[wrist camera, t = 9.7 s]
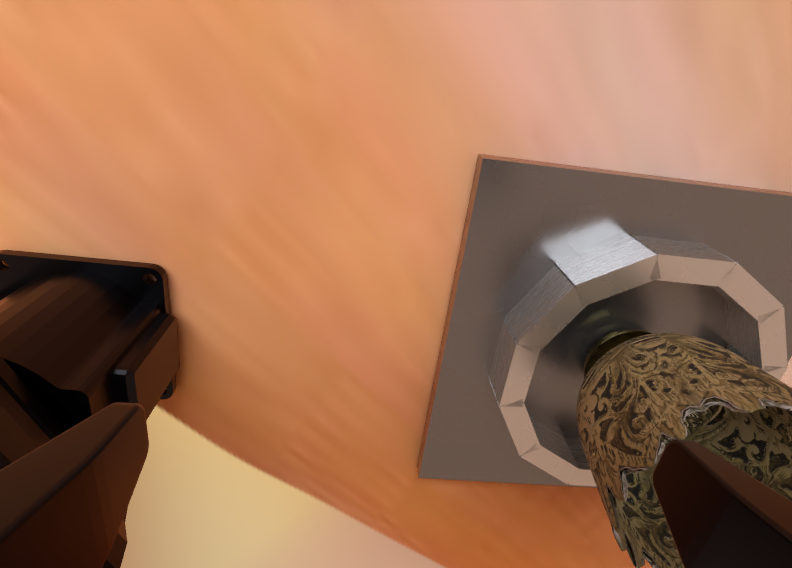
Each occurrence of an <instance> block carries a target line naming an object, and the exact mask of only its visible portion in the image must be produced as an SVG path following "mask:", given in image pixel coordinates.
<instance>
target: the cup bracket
mask: <svg viewBox="0 0 792 568" xmlns="http://www.w3.org/2000/svg"><path fill="white" fill-rule="evenodd" d="M624 328H635V329H641V330H644V331H648V332H651V333H653V334H654V333H680V334H685V335H690V336H695V337H698V338H701V339H704V340H707V341H709V342H712V343H714V344H717V345H719V346H721V347H723V348H725V349H727V350H729V351H731V352H733V353H735V354H737V355H738V356H740V357H742V358H744V359H745V360H747V361H749V362H750V363H752V364H754V365H755V366H757V367H759V368H760V369H762V370H763V371H765V372H767V373H768V374H770V375H772V376H773V377H775V378H776V379H778V380H780V379H781V377H782V376H783V374H784V372H785V371H786V369H787V367H786V366H788V364H787V363H788V361H789V360H790V358H791V356H792V193H789V192H781V191H773V190H765V189H756V188H748V187H740V186H732V185H724V184H716V183H708V182H700V181H692V180H684V179H675V178H667V177H659V176H651V175H643V174H635V173H627V172H619V171H611V170H603V169H594V168H586V167H578V166H570V165H562V164H554V163H546V162H538V161H530V160H522V159H513V158H505V157H497V156H489V155H481V154H479V155H478V160H477V165H476V170H475V175H474V180H473V185H472V190H471V195H470V200H469V205H468V211H467V216H466V221H465V226H464V231H463V236H462V241H461V246H460V251H459V256H458V261H457V266H456V271H455V276H454V282H453V287H452V292H451V297H450V302H449V307H448V312H447V317H446V322H445V327H444V332H443V337H442V342H441V347H440V352H439V358H438V363H437V368H436V373H435V378H434V383H433V388H432V393H431V398H430V403H429V408H428V413H427V418H426V423H425V428H424V434H423V439H422V444H421V449H420V454H419V459H418V464H417V468H418V477H419V478H431V479H449V480H467V481H485V482H503V483H521V484H539V485H557V486H575V487H593V488H597V486H596V483H595V481H594V478H593V475H592V472H591V470H590V467H589V464H588V461H587V458H586V455H585V452H584V449H583V446H582V442H581V438H580V434H579V430H578V424H577V400H578V395H579V391H580V388H581V385H582V383H583V381H584V372H583V367H584V360H585V357H586V354H587V352H588V351H589V349H590V348H591V346H592V345H593V344H594V343H595V342H596V341H597V340H598V339H599V338H601V337H602V336H604V335H605V334H607V333H609V332H612V331H615V330H618V329H624Z"/></svg>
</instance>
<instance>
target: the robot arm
mask: <svg viewBox="0 0 792 568" xmlns="http://www.w3.org/2000/svg"><path fill="white" fill-rule="evenodd" d="M2 260H3V261H5V262H6V263H7V264H8V266H9V267H6V266H5V265H4V264H3V262H2ZM148 273H150V274H153V275H154V276H155V277H156V279H157V281H154V280H151V279H150V278H149V277H148V275H147V274H148ZM179 367H180V360H179V347H178V335H177V323H176V318H175V317H174V316H173V314H171V313H170V307H169V295H168V283H167V275H166V272H165V271H164V269H163V268H162V267H160V266H159V265H156V264H150V263H139V262H129V261H118V260H108V259H97V258H86V257H76V256H65V255H55V254H44V253H33V252H23V251H12V250H1V251H0V568H120V566H121V563H122V559H123V556H124V552H125V549H126V545H127V537H126V529H125V519H126V513H127V507H128V504H129V501H130V499H131V496H132V494H133V491H134V488H135V486H136V483H137V481H138V478H139V475H140V473H141V470H142V468H143V465H144V462H145V459H146V457H147V453H148V446H149V440H148V433H147V425H146V420H147V418H148V417H149V415H150V414H151V412H152V410H153V409H154V407H155V406H156V404H157V402H158V401H159V399H167V398H169V397H171V396H172V394H173V393H174V391H175V389H176V376H175V373H176V372H177V370H178V368H179ZM166 388H167V389H166ZM653 486H654V489H655V492H656V494H657V497H658V499H659V502H660V505H661V507H662V510H663V513H664V515H665V518H666V521H667V523H668V526H669V529H670V531H671V534H672V537H673V539H674V542H675V545H676V547H677V550H678V553H679V555H680V558H681V560H682V563H683V565H684V568H792V501H790V500H788V499H787V498H785V497H784V496H782V495H781V494H779V493H777V492H776V491H774V490H773V489H771V488H769V487H768V486H766V485H765V484H763V483H761V482H760V481H758V480H757V479H755V478H754V477H752V476H750V475H749V474H747V473H746V472H744V471H742V470H741V469H739V468H738V467H736V466H735V465H733V464H731V463H730V462H728V461H727V460H725V459H723V458H722V457H720V456H719V455H717V454H716V453H714V452H712V451H711V450H709V449H708V448H706V447H704V446H703V445H701V444H700V443H698V442H695V441H691V440H677V439H675V440H671V441H670V442H669V443H667V445H666V447H665V449H664V451H663V453H662V455H661V457H660V459H659V461H658V463H657V465H656V467H655V469H654V472H653Z"/></svg>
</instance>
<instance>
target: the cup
mask: <svg viewBox="0 0 792 568" xmlns="http://www.w3.org/2000/svg"><path fill="white" fill-rule="evenodd" d="M583 372H584V381H583V383H582V385H581V388H580V391H579V395H578V400H577V424H578V430H579V434H580V438H581V442H582V446H583V449H584V452H585V455H586V458H587V461H588V464H589V467H590V470H591V472H592V475H593V478H594V481H595V483H596V486H597V489H598V491H599V494H600V496H601V499H602V502H603V504H604V507H605V509H606V512H607V515H608V517H609V520H610V522H611V526H612V530H613V534H614V536H615V539H616V541H617V543H618V545H619V547H620V549H621V551H625V549H627V551H628V553H629V556H630V558H631V560H632V562H633V564H634V566H635V567H636V568H640V567H641V566H643V565H645V560H644V559H646V560H647V561H648V562H649V563H650V565H651V566H652V567H653V568H684V565H683V563H682V560H681V558H680V555H679V553H678V550H677V547H676V545H675V542H674V539H673V537H672V534H671V531H670V529H669V526H668V523H667V521H666V518H665V515H664V513H663V510H662V507H661V505H660V502H659V499H658V497H657V494H656V492H655V489H654V486H653V472H654V469H655V467H656V465H657V463H658V461H659V459H660V457H661V455H662V453H663V451H664V449H665V447H666V445H667V443H669V442H670V441H671V440H675V439H677V440H691V441H695V442H698V443H700V444H701V445H703V446H704V447H706V448H708V449H709V450H711V451H712V452H714V453H716V454H717V455H719V456H720V457H722V458H723V459H725V460H727V461H728V462H730V463H731V464H733V465H735V466H736V467H738V468H739V469H741V470H742V471H744V472H746V473H747V474H749V475H750V476H752V477H754V478H755V479H757V480H758V481H760V482H761V483H763V484H765V485H766V486H768V487H769V488H771V489H773V490H774V491H776V492H777V493H779V494H781V495H782V496H784V497H785V498H787V499H788V500H790V501H792V388H791V387H789V386H787V385H786V384H784V383H783V382H781V381H780V380H778V379H776V378H775V377H773V376H772V375H770V374H768V373H767V372H765V371H763V370H762V369H760V368H759V367H757V366H755V365H754V364H752V363H750V362H749V361H747V360H745V359H744V358H742V357H740V356H738V355H737V354H735V353H733V352H731V351H729V350H727V349H725V348H723V347H721V346H719V345H717V344H714V343H712V342H709V341H707V340H704V339H701V338H698V337H695V336H690V335H685V334H680V333H654V334H653V333H651V332H648V331H644V330H641V329H635V328H624V329H618V330H615V331H612V332H609V333H607V334H605V335H604V336H602V337H601V338H599V339H598V340H597V341H596V342H595V343H594V344H593V345H592V346H591V348H590V349H589V351H588V352H587V354H586V357H585V360H584V367H583Z"/></svg>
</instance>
